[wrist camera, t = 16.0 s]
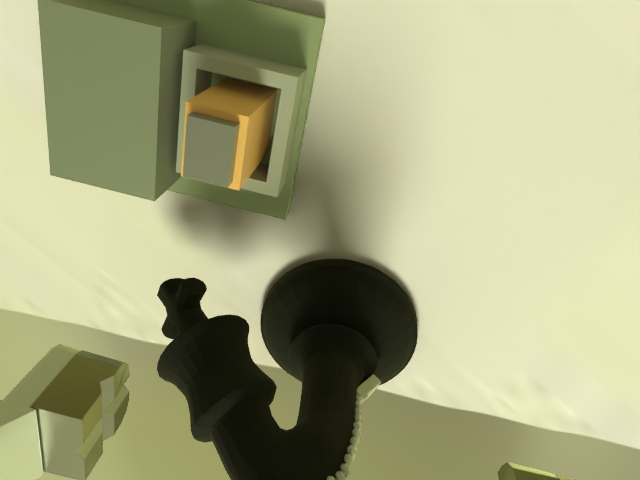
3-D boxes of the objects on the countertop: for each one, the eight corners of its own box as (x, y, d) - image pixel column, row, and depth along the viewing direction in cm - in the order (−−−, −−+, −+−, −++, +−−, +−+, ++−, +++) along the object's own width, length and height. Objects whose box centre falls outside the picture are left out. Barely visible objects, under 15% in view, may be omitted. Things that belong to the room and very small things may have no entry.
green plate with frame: (325, 18, 35) (309, 27, 29) (288, 213, 43) (268, 253, 37) (85, -39, 36) (19, -43, 30) (91, 164, 44) (39, 195, 37)
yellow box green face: (277, 90, 37) (244, 121, 29) (267, 152, 39) (234, 196, 32) (226, 78, 37) (179, 105, 29) (219, 140, 40) (174, 181, 32)
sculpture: (367, 405, 53) (344, 709, 31) (164, 307, 50) (-16, 561, 28) (449, 305, 45) (494, 611, 23) (215, 186, 43) (25, 402, 21)
